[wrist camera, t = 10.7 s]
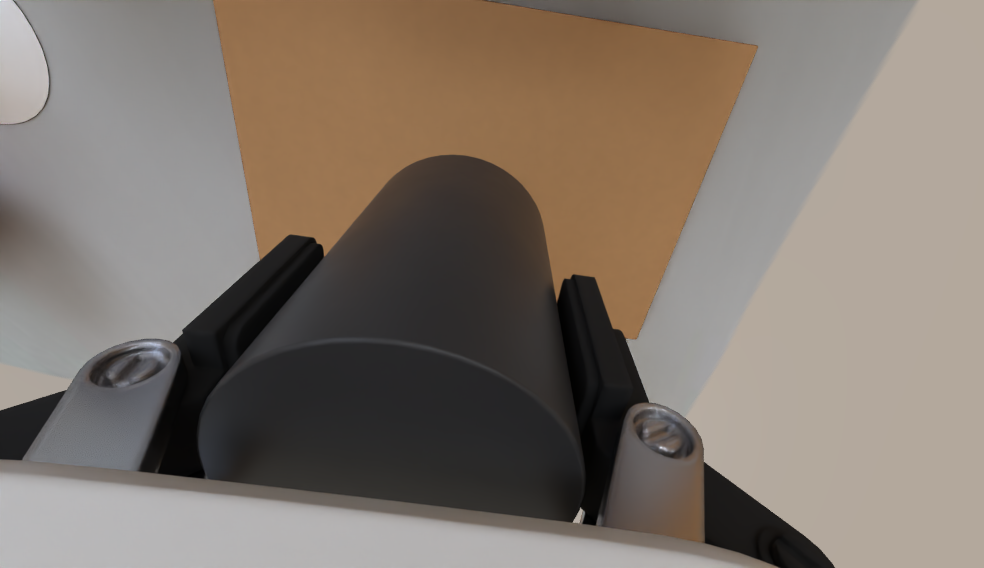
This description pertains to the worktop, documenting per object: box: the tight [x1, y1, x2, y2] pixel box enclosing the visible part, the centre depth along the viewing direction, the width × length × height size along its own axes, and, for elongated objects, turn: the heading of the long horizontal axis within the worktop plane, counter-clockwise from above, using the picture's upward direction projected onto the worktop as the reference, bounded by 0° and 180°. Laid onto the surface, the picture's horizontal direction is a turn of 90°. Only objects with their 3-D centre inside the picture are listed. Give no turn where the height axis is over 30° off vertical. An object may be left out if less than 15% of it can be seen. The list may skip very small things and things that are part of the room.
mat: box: [213, 0, 758, 339], centre depth 19 cm, size 20×14×1 cm
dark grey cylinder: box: [196, 155, 586, 523], centre depth 10 cm, size 6×6×9 cm
